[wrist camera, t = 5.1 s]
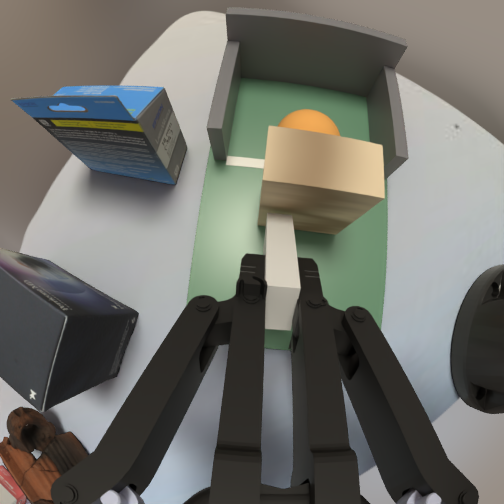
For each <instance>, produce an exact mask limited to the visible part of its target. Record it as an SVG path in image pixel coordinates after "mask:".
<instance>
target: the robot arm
mask: <svg viewBox="0 0 504 504" xmlns="http://www.w3.org/2000/svg"><path fill="white" fill-rule="evenodd" d="M291 327H292V330H293V332H292V336H291V340H290V344H289V348H288V349H291V359H292V394H293V472H292V476H291V488H286V489H281V488H276V487H272V486H268V485H265V484H261V464H262V453H261V427H262V402H263V374H264V343H265V329H276V330H291ZM224 344H229V351H228V359H227V367H226V374H225V382H224V390H223V398H222V406H221V414H220V423H219V431H218V439H217V446H216V449H215V455H214V462H213V471H212V479H211V487H208V488H205V489H203V490H201V491H199V492H197V493H196V494H194V495H193V496H192V497H191V498H189V499H188V500H187V501H186V502H185V503H183V504H370V503H369V502H368V501H367V500H366V499H365V498H364V497H363V496H362V495H360V486H359V473H358V463H357V456H356V453H355V451H354V450H352V449H351V448H350V446H349V439H348V429H347V421H346V412H345V404H344V396H343V389H342V382H341V379H342V381H343V384H344V386H345V388H346V391H347V393H348V396H349V398H350V400H351V403H352V405H353V408H354V410H355V412H356V415H357V417H358V420H359V422H360V425H361V427H362V430H363V432H364V435H365V437H366V440H367V442H368V445H369V447H370V450H371V452H372V455H373V457H374V460H375V462H376V465H377V467H378V470H379V472H380V475H381V478H382V480H383V482H384V484H385V487H386V489H387V491H388V493H389V494H390V496H391V498H392V499H393V500H394V502H395V503H396V504H478V498H479V495H478V491H477V489H476V487H475V486H474V485H473V484H472V483H471V482H470V481H469V480H468V479H467V478H466V477H465V476H464V475H463V474H462V473H461V472H460V471H459V470H458V469H457V468H456V467H455V466H454V465H453V464H452V463H451V461H449V459H448V458H447V456H446V453H445V451H444V449H443V447H442V445H441V443H440V441H439V438H438V436H437V434H436V432H435V430H434V428H433V426H432V424H431V422H430V420H429V418H428V416H427V414H426V412H425V410H424V408H423V406H422V404H421V402H420V400H419V399H418V397H417V395H416V393H415V391H414V389H413V387H412V385H411V383H410V382H409V380H408V378H407V376H406V374H405V372H404V371H403V369H402V367H401V365H400V363H399V361H398V360H397V358H396V356H395V354H394V353H393V351H392V349H391V347H390V346H389V344H388V342H387V340H386V339H385V337H384V335H383V333H382V332H381V330H380V328H379V327H378V325H377V323H376V322H375V320H374V318H373V317H372V315H371V314H370V312H369V311H368V310H366V309H365V308H363V307H360V306H351V307H349V308H347V309H346V311H343V310H339V309H336V308H334V307H332V306H330V305H329V303H328V301H327V299H326V298H325V297H323V292H322V286H321V281H320V276H319V270H318V265H317V264H316V262H315V261H314V260H313V258H302V257H297V251H296V242H295V234H294V226H293V218H292V215H287V214H277V213H267V219H266V228H265V238H264V247H263V255H260V254H249V253H246V254H245V255H244V257H243V258H242V259H241V267H240V274H239V279H238V280H237V282H236V294H235V296H233V297H232V298H230V299H228V300H225V301H219V302H218V301H217V300H216V299H215V298H213V297H211V296H208V295H199V296H196V297H194V298H192V299H191V300H190V301H189V303H188V304H187V306H186V307H185V309H184V310H183V312H182V313H181V315H180V316H179V318H178V319H177V321H176V322H175V324H174V325H173V327H172V329H171V330H170V332H169V333H168V335H167V336H166V338H165V339H164V341H163V342H162V344H161V345H160V347H159V349H158V350H157V352H156V353H155V355H154V356H153V358H152V359H151V361H150V363H149V364H148V366H147V367H146V369H145V370H144V372H143V374H142V375H141V377H140V378H139V380H138V381H137V383H136V385H135V386H134V388H133V389H132V391H131V393H130V394H129V396H128V397H127V399H126V400H125V402H124V404H123V405H122V407H121V409H120V410H119V412H118V413H117V415H116V417H115V418H114V420H113V421H112V423H111V425H110V426H109V428H108V430H107V431H106V433H105V434H104V436H103V438H102V439H101V441H100V443H99V444H98V446H97V448H96V449H95V451H94V452H92V453H91V454H90V455H89V456H87V457H86V458H85V459H83V460H82V461H81V462H79V463H78V464H77V465H75V466H74V467H73V468H71V469H70V470H68V471H67V472H66V473H64V474H63V475H62V476H60V477H59V478H57V479H56V480H55V481H54V483H53V484H52V486H51V490H50V492H51V498H52V500H53V502H54V504H145V503H144V501H143V499H142V498H141V497H140V495H141V494H142V493H143V492H144V490H145V489H146V488H147V487H148V485H149V484H150V482H151V480H152V479H153V477H154V475H155V473H156V472H157V470H158V468H159V466H160V464H161V462H162V460H163V458H164V456H165V454H166V452H167V450H168V448H169V446H170V444H171V442H172V440H173V438H174V436H175V434H176V432H177V430H178V428H179V426H180V424H181V422H182V420H183V418H184V416H185V414H186V412H187V410H188V408H189V406H190V404H191V402H192V400H193V398H194V396H195V394H196V392H197V390H198V388H199V386H200V384H201V382H202V380H203V378H204V376H205V374H206V371H207V369H208V367H209V365H210V363H211V361H212V359H213V357H214V355H215V353H216V351H217V349H218V346H219V345H224ZM451 365H452V375H453V380H454V384H455V387H456V390H457V392H458V394H459V396H460V397H461V399H462V400H463V401H464V402H465V403H466V404H467V405H469V406H470V407H473V408H475V409H477V410H480V411H482V412H485V413H489V414H499V413H504V264H503V265H498V266H494V267H492V268H490V269H488V270H487V271H485V272H484V273H483V274H482V275H481V276H480V277H479V278H478V279H477V280H476V281H475V283H474V284H473V285H472V287H471V288H470V290H469V292H468V294H467V295H466V298H465V300H464V302H463V304H462V307H461V309H460V312H459V315H458V318H457V322H456V326H455V330H454V335H453V342H452V353H451Z"/></svg>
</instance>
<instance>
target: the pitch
mask: <svg viewBox="0 0 504 504" xmlns="http://www.w3.org/2000/svg"><path fill="white" fill-rule="evenodd" d="M226 25H227V39H228V41H227V45H226V48H225V52H224V56H223V60H222V64H221V68H220V72H219V76H218V80H217V84H216V88H215V92H214V97H213V101H212V105H211V110H210V114H209V119H208V124H207V131H208V135H209V140H210V144H211V147H210V152H209V157H208V163H207V168H206V174H205V180H204V186H203V191H202V198H201V204H200V210H199V216H198V223H197V229H196V236H195V243H194V250H193V257H192V265H191V272H190V280H189V288H188V297H187V304H188V303H189V301H190V300H191V299H192V298H194V297H196V296H199V295H208V296H211V297H213V298H215V299H216V300H217V301H218V302H219V301H225V300H228V299H230V298H232V297H233V296H235V294H236V282H237V280H238V279H239V274H240V267H241V259H242V258H243V257H244V255H245V254H246V253H249V254H260V255H263V247H264V238H265V228H266V226H260V225H257V223H258V214H259V206H260V197H261V188H262V179H263V170H264V162H265V153H266V145H267V136H268V127H269V126H278V125H279V123H280V122H281V120H282V119H283V118H284V117H285V116H287V115H288V114H290V113H292V112H294V111H297V110H302V109H310V110H316V111H319V112H321V113H323V114H325V115H326V116H328V117H329V118H330V119H331V120H332V121H333V122H334V123H335V125H336V126H337V128H338V130H339V133H340V136H341V137H347V138H352V139H357V140H361V141H366V142H371V143H375V144H380V145H382V146H383V162H384V187H385V198H384V199H383V200H382V201H380V202H379V203H378V204H377V205H375V206H374V207H373V208H371V209H370V210H369V211H367V212H366V213H365V214H363V215H362V216H361V217H359V218H358V219H357V220H355V221H354V222H353V223H351V224H350V225H348V226H347V227H346V228H344V229H343V230H342V231H340V232H339V233H338V234H336V235H334V234H326V233H318V232H310V231H302V230H294V234H295V242H296V251H297V257H302V258H313V260H314V261H315V262H316V264H317V265H318V270H319V276H320V281H321V286H322V292H323V297H325V298H326V299H327V301H328V303H329V305H330V306H332V307H334V308H336V309H339V310H343V311H346V309H347V308H349V307H351V306H360V307H363V308H365V309H366V310H368V311H369V312H370V314H371V315H372V317H373V318H374V320H375V322H376V323H377V325H378V327H379V328H380V330H381V323H382V314H383V304H384V292H385V278H386V260H387V223H388V209H387V178H388V177H389V176H390V175H391V174H392V173H393V172H394V171H395V170H396V169H397V168H399V167H400V166H401V165H402V164H403V163H404V162H405V161H406V160H407V159H408V150H407V141H406V132H405V125H404V118H403V111H402V105H401V99H400V93H399V88H398V83H397V78H396V73H395V67H396V65H397V64H398V62H399V60H400V58H401V57H402V55H403V53H404V52H405V50H406V48H407V43H406V40H405V39H403V38H400V37H397V36H394V35H391V34H388V33H385V32H382V31H378V30H375V29H371V28H368V27H364V26H360V25H356V24H352V23H348V22H344V21H339V20H335V19H330V18H325V17H318V16H313V15H307V14H301V13H294V12H286V11H277V10H267V9H254V8H232V7H228V9H227V12H226ZM186 306H187V305H186ZM292 332H293V330H292V327H291V330H276V329H265V343H264V348H270V349H281V350H291V349H288V348H289V344H290V340H291V336H292Z"/></svg>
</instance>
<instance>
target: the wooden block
mask: <svg viewBox="0 0 504 504" xmlns="http://www.w3.org/2000/svg"><path fill="white" fill-rule="evenodd" d="M384 198H385V187H384V162H383V146H382V145H380V144H375V143H371V142H366V141H361V140H357V139H352V138H347V137H341V136H336V135H330V134H325V133H319V132H312V131H306V130H299V129H292V128H285V127H277V126H269V127H268V136H267V145H266V153H265V162H264V170H263V179H262V188H261V197H260V206H259V214H258V223H257V225H260V226H266V219H267V213H277V214H287V215H292V218H293V226H294V230H302V231H310V232H318V233H326V234H334V235H336V234H338V233H339V232H340V231H342V230H343V229H344V228H346V227H347V226H348V225H350V224H351V223H353V222H354V221H355V220H357V219H358V218H359V217H361V216H362V215H363V214H365V213H366V212H367V211H369V210H370V209H371V208H373V207H374V206H375V205H377V204H378V203H379V202H380V201H382V200H383V199H384Z"/></svg>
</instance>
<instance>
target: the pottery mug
mask: <svg viewBox="0 0 504 504" xmlns="http://www.w3.org/2000/svg"><path fill="white" fill-rule="evenodd" d="M26 425H27V426H26ZM7 429H8V432H9V434H10V436H9V438H8V437H4V439H3V442H1V443H0V456H1V458H2V461H3V463H4V465H5V466H6V468H7V470H8V471H9V473H10V474H11V476H12V478H13V479H14V481H15V482H16V484H17V485H18V486H19V488H20V489H21V491H22V492H23V493H24V495H25V496H26V498H27V499H28V500H29V501H30V503H31V504H54V502H53V500H52V498H51V492H50V490H51V486H52V484H53V483H54V481H55V480H56V479H57V478H59V477H60V476H62V475H63V474H64V473H66V472H67V471H68V470H70V469H71V468H73V467H74V466H75V465H77V464H78V463H79V462H81V461H82V460H83V459H85V458H86V457H87V456H88V454H87V453H86V452H85V450H84V448H83V447H82V445H81V444H80V442H79V441H78V440H77V438H76V437H75V436H74V435H73V434H72V433H71V432H67V433H65V434H60V435H55V433H56V428H55V426H54V424H52V423H51V422H48V421H47V420H46V419H45V418H44V416H43V415H42V414H40V413H39V412H38V411H36V410H34V409H31V408H23V407H19V408H17V409H15V410H13V411H12V412H11V413H10V414H9V416H8V420H7ZM34 449H37V450H39V451H42V454H41V456H40V457H39V458H38V459H36V458H35V457H34V455H33V454H32V453H31V452H33V451H34Z"/></svg>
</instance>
